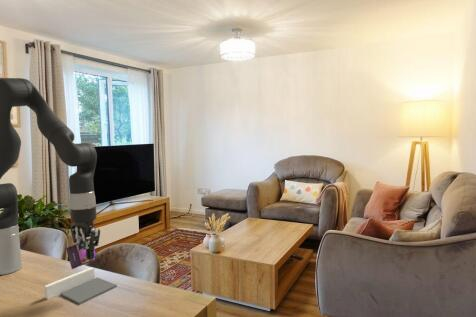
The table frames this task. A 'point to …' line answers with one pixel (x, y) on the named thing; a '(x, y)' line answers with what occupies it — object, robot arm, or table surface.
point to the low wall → (69, 282)
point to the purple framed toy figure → (78, 255)
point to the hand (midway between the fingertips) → (86, 257)
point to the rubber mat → (88, 290)
